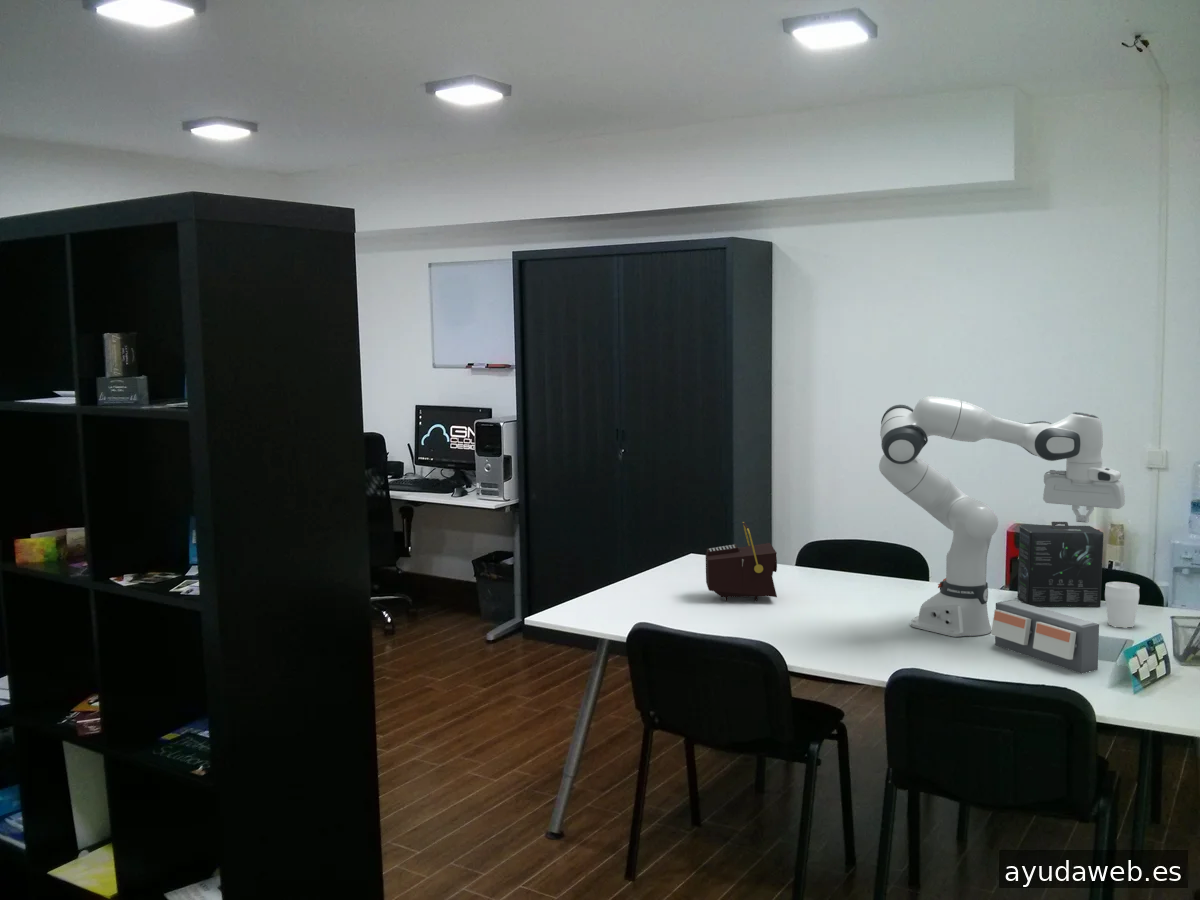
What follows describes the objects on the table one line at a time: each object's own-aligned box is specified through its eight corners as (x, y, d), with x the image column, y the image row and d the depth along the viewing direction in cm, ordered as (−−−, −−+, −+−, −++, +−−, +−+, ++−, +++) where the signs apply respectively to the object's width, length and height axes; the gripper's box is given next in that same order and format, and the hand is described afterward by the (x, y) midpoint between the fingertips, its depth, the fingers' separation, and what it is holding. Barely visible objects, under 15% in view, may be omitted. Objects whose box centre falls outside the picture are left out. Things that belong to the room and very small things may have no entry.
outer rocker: (1068, 659, 258) (1072, 632, 258) (1031, 647, 269) (1034, 621, 268) (1075, 659, 259) (1079, 632, 259) (1037, 647, 270) (1041, 621, 270)
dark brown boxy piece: (781, 604, 332) (780, 528, 329) (709, 606, 332) (708, 530, 330) (773, 591, 348) (773, 519, 345) (705, 593, 349) (704, 521, 346)
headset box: (1088, 597, 330) (1090, 518, 327) (1102, 607, 318) (1104, 525, 315) (1015, 597, 332) (1017, 519, 329) (1027, 607, 321) (1029, 526, 318)
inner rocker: (1023, 645, 271) (1027, 619, 271) (989, 634, 281) (993, 609, 281) (1030, 645, 272) (1034, 619, 272) (996, 634, 282) (999, 609, 282)
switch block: (1081, 673, 259) (1082, 626, 258) (994, 645, 284) (995, 602, 283) (1113, 665, 264) (1115, 619, 263) (1025, 638, 289) (1026, 596, 288)
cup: (1119, 631, 294) (1121, 590, 292) (1096, 622, 302) (1097, 583, 301) (1145, 627, 296) (1147, 587, 295) (1122, 619, 305) (1123, 580, 303)
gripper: (1040, 470, 283) (1039, 520, 284) (1121, 476, 270) (1119, 527, 271) (1047, 468, 288) (1046, 516, 289) (1127, 473, 275) (1125, 523, 276)
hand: (1082, 521), depth 280 cm, fingers closed
